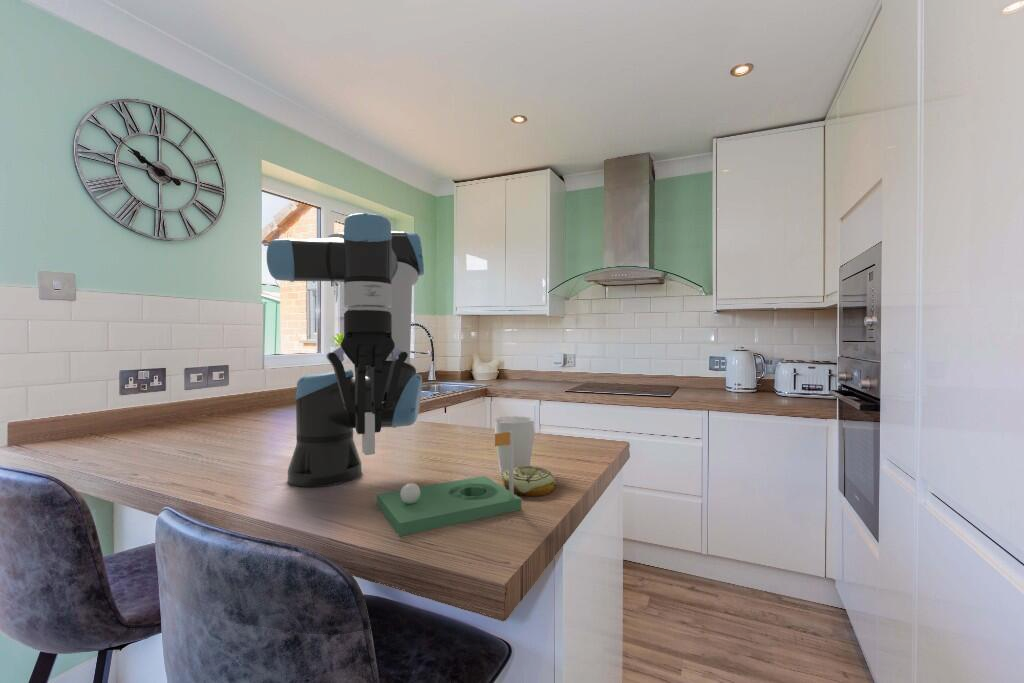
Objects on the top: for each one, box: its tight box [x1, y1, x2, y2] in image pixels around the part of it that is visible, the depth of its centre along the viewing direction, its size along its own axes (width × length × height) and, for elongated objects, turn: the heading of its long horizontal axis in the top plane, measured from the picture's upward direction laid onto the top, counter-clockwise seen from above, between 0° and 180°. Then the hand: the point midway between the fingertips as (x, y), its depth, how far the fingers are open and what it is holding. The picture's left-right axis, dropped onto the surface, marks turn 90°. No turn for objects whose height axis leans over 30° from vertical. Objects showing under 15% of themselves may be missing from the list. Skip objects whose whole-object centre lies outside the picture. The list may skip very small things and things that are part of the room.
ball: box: [400, 482, 420, 504], centre depth 79 cm, size 3×3×3 cm
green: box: [376, 431, 522, 537], centre depth 82 cm, size 15×22×14 cm
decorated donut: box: [501, 465, 556, 497], centre depth 92 cm, size 10×11×4 cm
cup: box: [494, 415, 535, 475], centre depth 103 cm, size 9×9×12 cm
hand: (368, 452), depth 75 cm, fingers closed
